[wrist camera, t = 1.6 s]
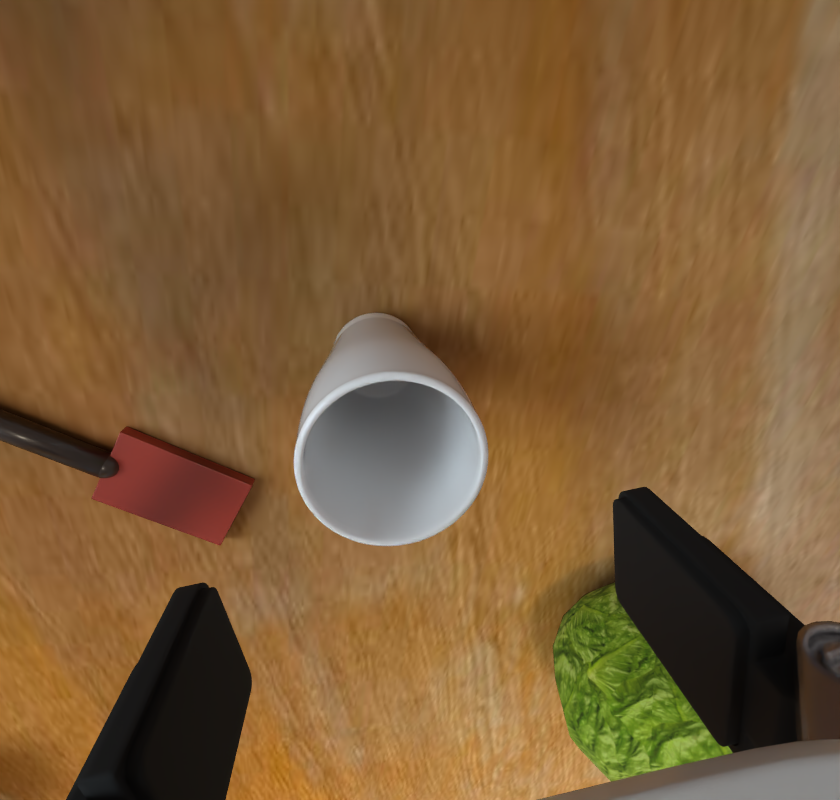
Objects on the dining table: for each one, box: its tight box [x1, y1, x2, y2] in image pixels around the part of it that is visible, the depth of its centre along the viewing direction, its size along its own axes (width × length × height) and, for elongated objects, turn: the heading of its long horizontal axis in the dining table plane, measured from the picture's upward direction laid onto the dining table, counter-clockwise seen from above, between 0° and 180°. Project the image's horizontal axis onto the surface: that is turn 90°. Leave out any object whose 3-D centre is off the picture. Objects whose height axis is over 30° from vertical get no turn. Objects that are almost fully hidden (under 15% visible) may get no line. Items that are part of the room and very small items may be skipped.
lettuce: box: [553, 583, 733, 782], centre depth 37 cm, size 14×23×14 cm
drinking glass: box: [294, 313, 488, 546], centre depth 23 cm, size 7×7×15 cm
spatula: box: [0, 409, 255, 545], centre depth 29 cm, size 20×5×2 cm, turn 59°
